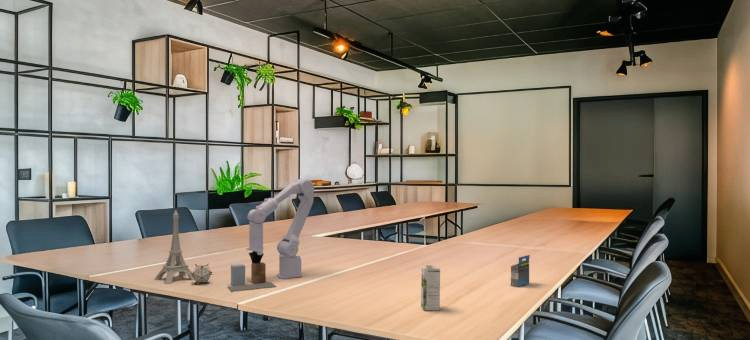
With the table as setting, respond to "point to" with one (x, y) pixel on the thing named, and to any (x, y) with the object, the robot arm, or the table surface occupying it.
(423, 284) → the syrup box
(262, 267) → the walnut block
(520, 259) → the label tape cartridge
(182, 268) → the eiffel tower
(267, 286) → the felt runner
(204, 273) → the grey faceted ornament
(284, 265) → the robot arm
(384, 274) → the table surface
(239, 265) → the slate block
